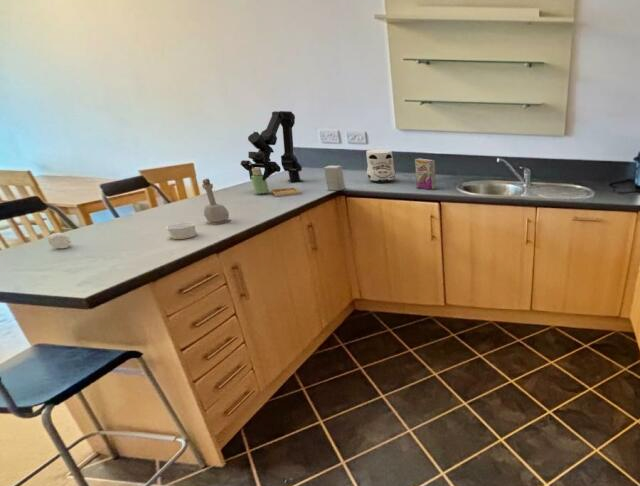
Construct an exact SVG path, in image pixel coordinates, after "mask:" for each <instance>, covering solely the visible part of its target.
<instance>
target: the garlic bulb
mask: <svg viewBox="0 0 640 486" xmlns="http://www.w3.org/2000/svg"><path fill="white" fill-rule="evenodd" d="M47 242H48V244H49V245H50V246H51V248H55V249H67V248H70V246H71V245H72V240H71V237H70V236H68V235H67V234H66V233H62V232H54V233H52V234H50V235H49V236H48V239H47Z"/></svg>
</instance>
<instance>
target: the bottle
mask: <svg viewBox="0 0 640 486" xmlns="http://www.w3.org/2000/svg"><path fill="white" fill-rule="evenodd" d="M251 178H252V180H251V182H252V186H253V189H254V193H256V194H266V193H269V191H270V190H269V186H268V183H267V179H266V180H265V181H264V180H263V173H262V174H261V175H252V176H251Z"/></svg>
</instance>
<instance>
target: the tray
mask: <svg viewBox="0 0 640 486" xmlns="http://www.w3.org/2000/svg"><path fill="white" fill-rule="evenodd" d="M270 192H271V193H272V195H274V196H275V197H276V198H278V197H288V196H295V195H302V193H301V191H300V190H299V189H297V188H296V187H294V186H293V187H285V188H284V187H283V188H276V189H275V188H274V189H270Z"/></svg>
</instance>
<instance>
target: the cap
mask: <svg viewBox="0 0 640 486" xmlns="http://www.w3.org/2000/svg"><path fill="white" fill-rule="evenodd" d="M252 173H253V175H261V174H262V175H263V173H262V168H258V167H255V168H253V169H252Z"/></svg>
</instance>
